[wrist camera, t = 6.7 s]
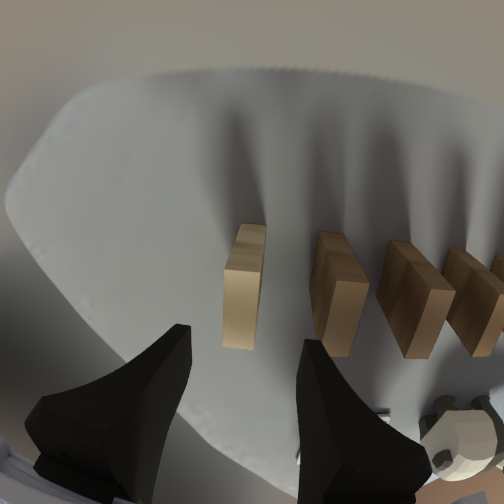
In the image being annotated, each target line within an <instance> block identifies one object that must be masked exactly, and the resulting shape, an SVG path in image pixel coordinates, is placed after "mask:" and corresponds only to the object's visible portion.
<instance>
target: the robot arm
mask: <svg viewBox="0 0 504 504" xmlns="http://www.w3.org/2000/svg"><path fill="white" fill-rule="evenodd" d="M191 366H192V346H191V326H189V325H182V324H175V325H174V326H173V327H172V328H170V329H169V330H168V331H167V332H166V333H165V334H164V335H162V336H161V337H160V338H159V339H158V340H157V341H156V342H154V343H153V344H152V345H151V346H149V347H148V348H147V349H146V350H145V351H143V352H142V353H141V354H139V355H138V356H137V357H135V358H134V359H132V360H131V361H130V362H128V363H127V364H125V365H124V366H122V367H121V368H119V369H117V370H115V371H114V372H112V373H110V374H108V375H106V376H104V377H102V378H100V379H97V380H95V381H93V382H91V383H88V384H86V385H83V386H80V387H78V388H74V389H71V390H68V391H65V392H61V393H57V394H52V395H48V396H43V397H42V398H41V399H40V400H39V401H38V403H37V404H36V405H35V407H34V408H33V410H32V411H31V413H30V414H29V416H28V417H27V418H26V420H25V422H24V423H25V428H26V430H27V432H28V434H29V436H30V437H31V439H32V440H33V442H34V443H35V445H36V446H37V448H38V449H39V451H40V452H41V454H40V456H39V457H38V459H37V461H36V463H34V462H32V461H30V460H28V459H26V458H25V457H23V456H21V455H19V454H17V453H16V452H14V451H12V450H11V449H10V447H9V445H8V444H7V443H6V442H5V440H4V439H2V437H0V504H151V502H152V496H153V490H154V486H155V481H156V477H157V472H158V468H159V463H160V459H161V455H162V451H163V447H164V444H165V440H166V436H167V433H168V430H169V427H170V424H171V422H172V419H173V417H174V415H175V412H176V410H177V407H178V405H179V402H180V400H181V397H182V395H183V393H184V390H185V388H186V385H187V382H188V378H189V374H190V370H191ZM296 403H297V414H298V425H299V435H300V452H299V455H298V457H297V460H296V464H298V465H300V474H299V490H298V503H297V504H415V503H416V497H415V493H416V492H417V491H418V490H419V488H421V487H422V486H423V485H424V484H425V483H426V481H427V480H428V479H429V478H430V476H431V474H432V471H433V470H432V467H431V463H430V460H429V457H428V454H427V452H426V450H425V447H424V446H422V445H420V444H418V443H416V442H415V441H413V440H411V439H409V438H408V437H406V436H404V435H403V434H401V433H400V432H398V431H397V430H395V429H394V428H393V427H391V426H390V425H389V424H388V423H389V421H390V419H391V417H390V415H389V414H375V413H374V412H373V411H372V410H371V409H370V408H369V407H368V406H367V405H366V404H365V403H364V402H363V401H362V400H361V399H360V398H359V397H358V395H357V394H356V393H355V392H354V391H353V389H352V388H351V387H350V385H349V384H348V383H347V382H346V380H345V379H344V377H343V376H342V374H341V373H340V372H339V370H338V369H337V367H336V366H335V364H334V362H333V361H332V359H331V357H330V356H329V354H328V352H327V351H326V349H325V347H324V345H323V343H322V342H321V341H320V340H312V339H305V341H304V345H303V350H302V354H301V359H300V363H299V368H298V372H297V379H296ZM452 504H488V501H487V498H486V495H485V492H483V491H482V492H479V493H476V494H473V495H470V496H467V497H463V498H461V499H459V500H457V501H455V502H453V503H452Z"/></svg>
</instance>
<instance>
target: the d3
mask: <svg viewBox="0 0 504 504" xmlns="http://www.w3.org/2000/svg"><path fill="white" fill-rule="evenodd" d="M442 276H443V277H444V278H445V279H446V280H447V282H448V283H449V284H450V285H451V286H452V287H453V288H454V289H455V291H456V293H455V295H454V298H453V301H452V303H451V306H450V309H449V311H448V314H447V316H446V320H447V321H448V323H449V324H450V326H451V327H452V328H453V330H454V331H455V333H456V334H457V336H458V337H459V339H460V340H461V342H462V343H463V345H464V346H465V348H466V349H467V351H468V352H469V354H470V355H471V357H484V356H489V355H490V354H491V352H492V350H493V348H494V346H495V344H496V342H497V340H498V338H499V336H500V334H501V331H502V329H503V327H504V283H503V282H502V281H501V280H500V279H499V278H497V277H496V276H495V275H494V274H493V273H492V272H491V271H489V270H488V269H487V268H486V267H485V266H484V265H482V264H481V263H480V262H479V261H478V260H476V259H475V258H474V257H473V256H472V255H470V254H469V253H468V252H467V251H465V250H458V249H451V248H450V249H449V252H448V256H447V259H446V263H445V266H444V269H443V272H442Z"/></svg>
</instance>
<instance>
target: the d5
mask: <svg viewBox="0 0 504 504" xmlns="http://www.w3.org/2000/svg"><path fill="white" fill-rule="evenodd" d="M369 285H370V283H369V281H368V279H367V277H366V275H365V273H364V271H363V269H362V267H361V266H360V264H359V262H358V260H357V258H356V256H355V254H354V252H353V250H352V249H351V247H350V245H349V243H348V241H347V239H346V238H345V236H344V234H340V233H332V232H324V231H320V232H319V239H318V245H317V251H316V256H315V262H314V268H313V274H312V279H311V284H310V290H309V292H310V298H311V305H312V312H313V319H314V326H315V333H316V340H320V341H321V342H322V343H323V345H324V347H325V349H326V351H327V352H328V354H329V356H332V357H348V356H349V353H350V349H351V346H352V343H353V340H354V337H355V334H356V331H357V327H358V324H359V321H360V317H361V314H362V310H363V307H364V303H365V300H366V296H367V292H368V289H369Z"/></svg>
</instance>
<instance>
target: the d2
mask: <svg viewBox="0 0 504 504" xmlns="http://www.w3.org/2000/svg"><path fill="white" fill-rule="evenodd" d="M491 272H492V273H493V274H494V275H495V276H496V277H497V278H499V279H500V280H501V281H502V282H503V283H504V257H502V256H496V257H495V260H494V263H493V266H492V269H491ZM502 331H503V333H504V327H503V329H502Z"/></svg>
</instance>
